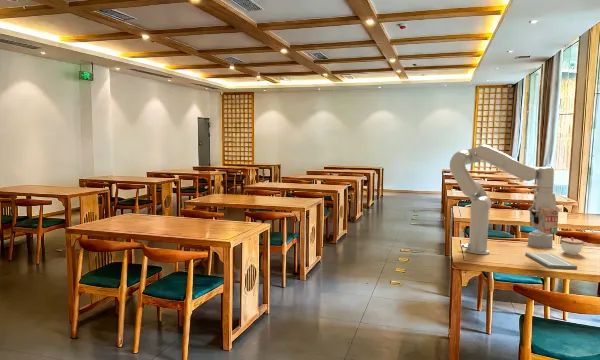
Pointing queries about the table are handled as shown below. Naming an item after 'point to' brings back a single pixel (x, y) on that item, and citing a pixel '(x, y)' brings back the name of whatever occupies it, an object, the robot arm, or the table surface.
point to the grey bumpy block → (540, 239)
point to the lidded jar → (571, 246)
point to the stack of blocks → (546, 220)
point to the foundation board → (551, 260)
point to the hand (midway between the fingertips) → (543, 223)
